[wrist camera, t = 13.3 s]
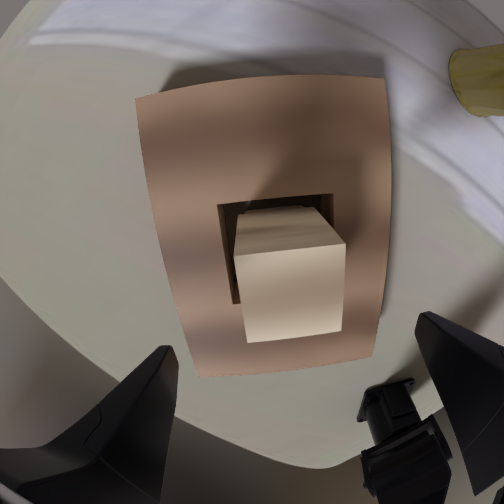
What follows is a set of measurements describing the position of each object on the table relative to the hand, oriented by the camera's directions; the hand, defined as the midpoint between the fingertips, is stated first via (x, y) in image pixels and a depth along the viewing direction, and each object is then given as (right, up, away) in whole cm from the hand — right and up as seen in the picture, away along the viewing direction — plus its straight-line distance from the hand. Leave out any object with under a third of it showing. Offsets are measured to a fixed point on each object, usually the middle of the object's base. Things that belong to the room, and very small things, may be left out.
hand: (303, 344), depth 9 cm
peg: (0, +4, +10) cm, 11 cm away
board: (0, +4, +10) cm, 11 cm away
